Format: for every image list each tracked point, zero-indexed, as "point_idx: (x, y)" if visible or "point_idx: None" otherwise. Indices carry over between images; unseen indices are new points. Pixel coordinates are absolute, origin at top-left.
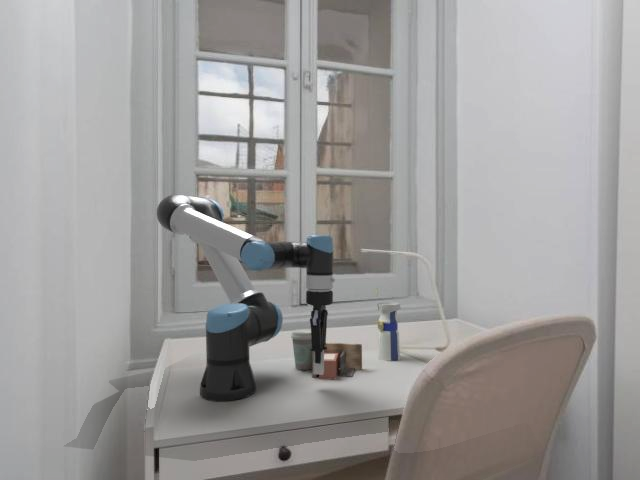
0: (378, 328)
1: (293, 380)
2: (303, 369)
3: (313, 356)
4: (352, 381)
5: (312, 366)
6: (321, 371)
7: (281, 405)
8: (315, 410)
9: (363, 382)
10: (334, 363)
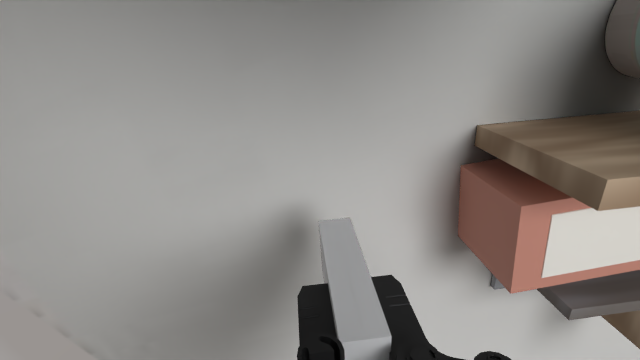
0: None
1: (414, 37)
2: (607, 31)
3: (563, 174)
4: (432, 299)
5: (513, 143)
6: (323, 273)
7: (36, 115)
8: (74, 269)
9: (425, 333)
10: (501, 279)
